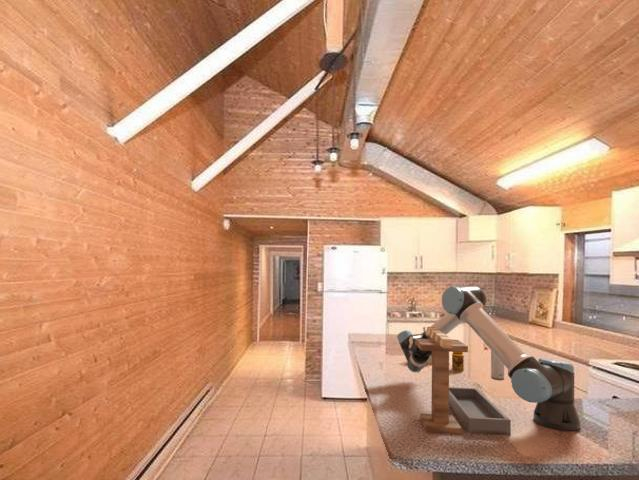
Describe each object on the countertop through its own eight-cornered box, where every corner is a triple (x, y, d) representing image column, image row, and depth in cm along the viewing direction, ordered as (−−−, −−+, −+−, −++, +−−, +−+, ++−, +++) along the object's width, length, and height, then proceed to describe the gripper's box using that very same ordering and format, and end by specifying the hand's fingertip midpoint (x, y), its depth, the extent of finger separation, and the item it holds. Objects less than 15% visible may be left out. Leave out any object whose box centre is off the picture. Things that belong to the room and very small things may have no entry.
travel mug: (504, 381, 200) (504, 341, 201) (490, 379, 204) (490, 340, 205) (505, 378, 205) (505, 339, 207) (492, 376, 209) (492, 338, 210)
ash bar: (427, 334, 160) (427, 326, 160) (434, 334, 160) (434, 327, 160) (443, 347, 134) (443, 339, 134) (452, 348, 134) (452, 339, 134)
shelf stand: (414, 418, 149) (415, 338, 150) (457, 420, 148) (457, 339, 149) (420, 432, 137) (421, 344, 138) (467, 434, 136) (467, 346, 137)
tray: (443, 398, 172) (444, 386, 172) (476, 400, 171) (476, 388, 171) (469, 432, 137) (469, 418, 137) (510, 434, 136) (510, 420, 137)
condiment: (457, 372, 214) (457, 350, 215) (446, 368, 222) (446, 347, 223) (467, 371, 217) (467, 349, 218) (456, 367, 225) (456, 346, 226)
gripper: (448, 365, 179) (460, 350, 161) (392, 363, 180) (398, 348, 163) (446, 349, 183) (457, 332, 165) (392, 347, 184) (397, 330, 167)
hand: (428, 340), depth 164 cm, fingers open, 13 cm apart
